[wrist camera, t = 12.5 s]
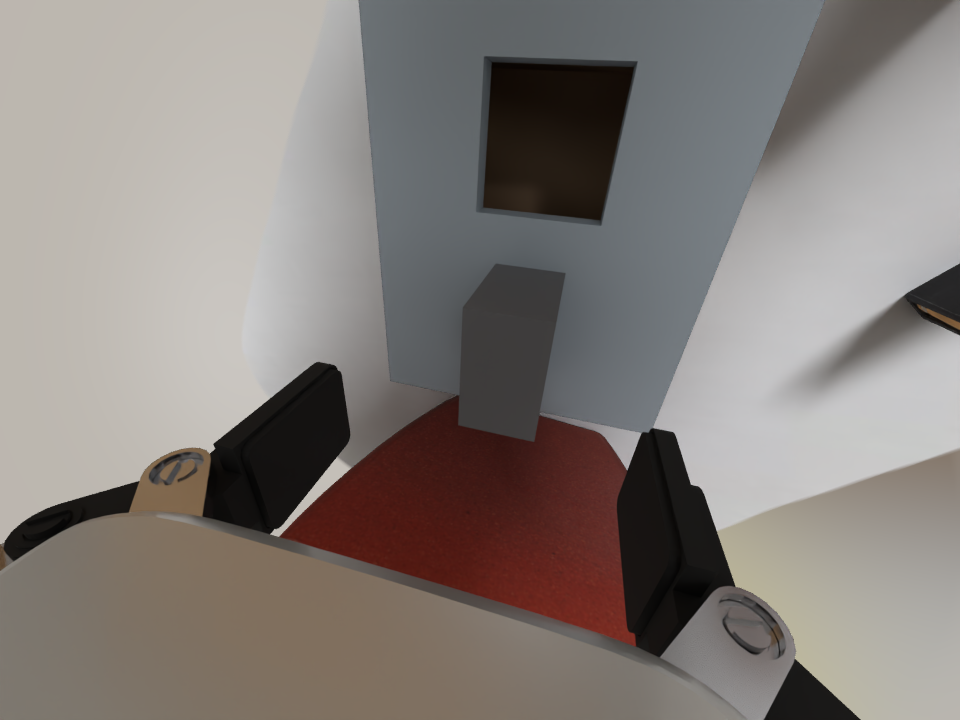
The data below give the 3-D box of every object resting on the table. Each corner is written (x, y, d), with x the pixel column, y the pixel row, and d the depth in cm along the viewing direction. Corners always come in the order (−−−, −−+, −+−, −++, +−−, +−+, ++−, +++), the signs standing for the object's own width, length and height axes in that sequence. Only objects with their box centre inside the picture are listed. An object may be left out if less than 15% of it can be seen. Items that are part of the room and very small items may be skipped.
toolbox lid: (375, 5, 14) (244, -74, 8) (805, 9, 11) (991, -101, 6) (399, 369, 22) (340, 440, 17) (646, 419, 20) (666, 520, 14)
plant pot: (410, 498, 40) (312, 693, 26) (418, 348, 30) (264, 537, 16) (587, 555, 37) (585, 806, 23) (665, 412, 27) (744, 707, 13)
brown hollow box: (439, 44, 19) (379, 8, 14) (731, 53, 17) (801, 12, 11) (439, 321, 28) (401, 367, 22) (634, 354, 25) (646, 415, 20)
